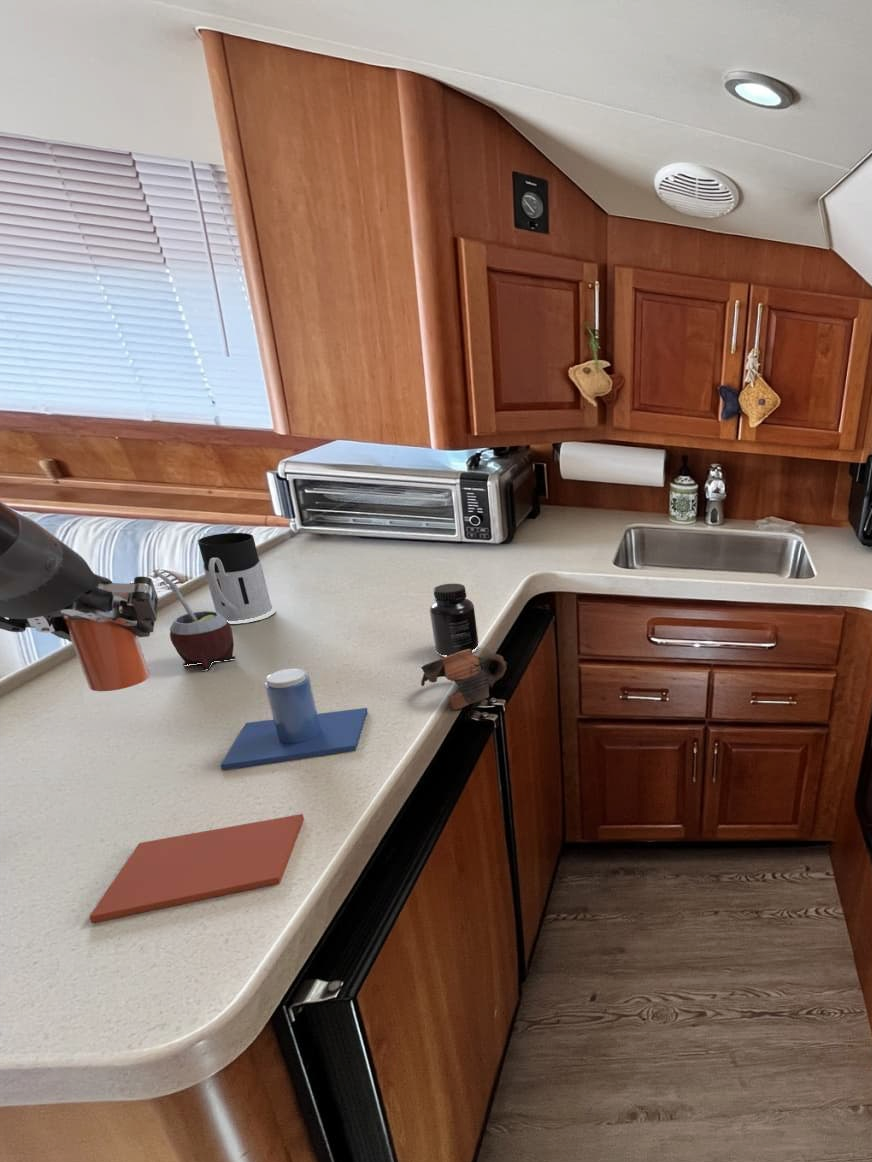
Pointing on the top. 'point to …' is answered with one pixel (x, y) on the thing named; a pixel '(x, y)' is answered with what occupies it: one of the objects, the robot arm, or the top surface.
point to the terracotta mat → (200, 867)
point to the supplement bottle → (453, 620)
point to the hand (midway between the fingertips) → (113, 631)
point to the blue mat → (265, 747)
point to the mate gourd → (200, 634)
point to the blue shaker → (292, 706)
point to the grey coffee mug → (235, 576)
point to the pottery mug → (466, 675)
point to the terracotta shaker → (107, 653)
